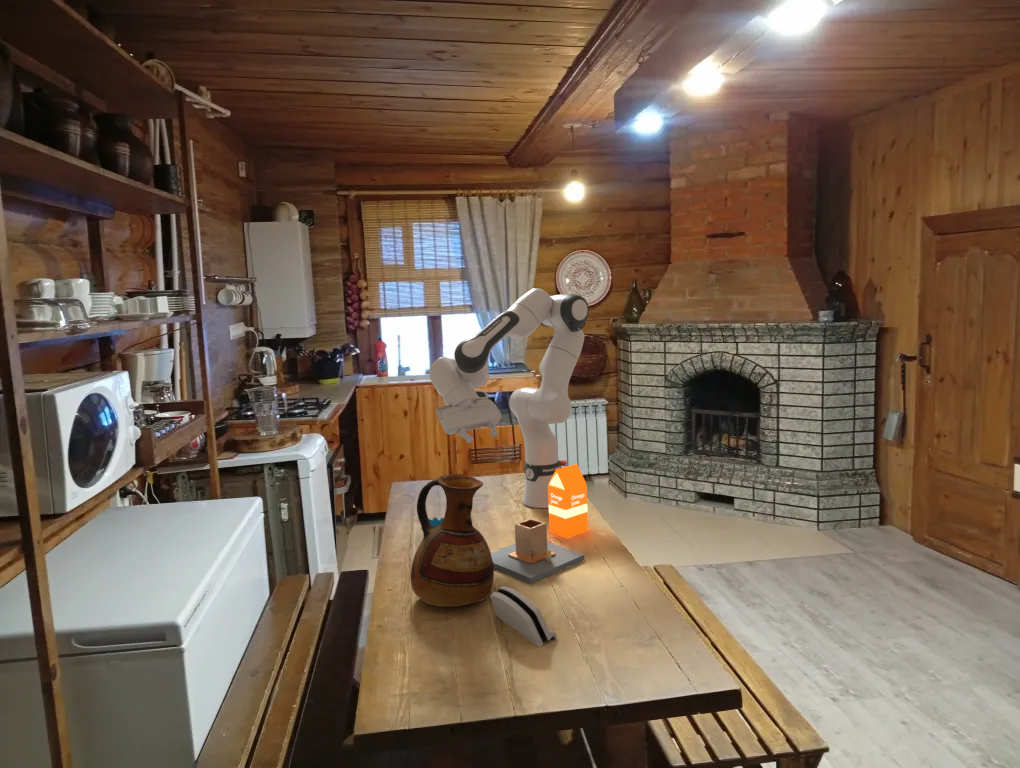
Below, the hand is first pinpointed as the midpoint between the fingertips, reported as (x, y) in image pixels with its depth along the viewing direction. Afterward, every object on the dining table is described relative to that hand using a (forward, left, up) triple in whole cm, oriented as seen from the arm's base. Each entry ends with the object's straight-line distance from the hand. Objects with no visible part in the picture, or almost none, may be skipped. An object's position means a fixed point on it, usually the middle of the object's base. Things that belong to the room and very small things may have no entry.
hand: (483, 438), depth 206 cm
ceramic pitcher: (+34, +27, -29) cm, 53 cm away
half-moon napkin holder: (+33, +51, -30) cm, 67 cm away
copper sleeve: (+6, +25, -28) cm, 38 cm away
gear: (+12, -8, -30) cm, 33 cm away
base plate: (+6, +25, -29) cm, 39 cm away
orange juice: (-17, +17, -29) cm, 38 cm away
